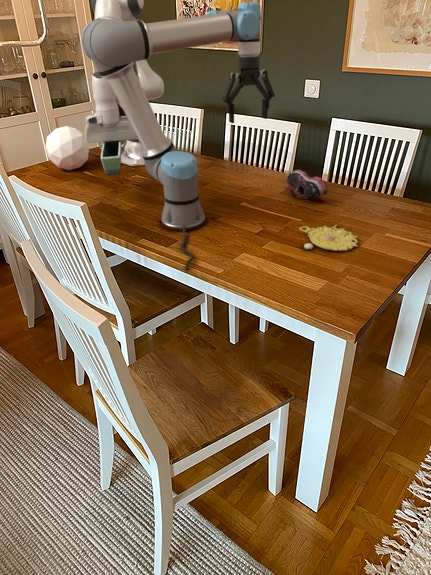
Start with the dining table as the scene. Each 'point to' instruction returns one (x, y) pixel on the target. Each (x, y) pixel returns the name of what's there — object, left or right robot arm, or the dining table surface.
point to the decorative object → (330, 238)
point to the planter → (111, 157)
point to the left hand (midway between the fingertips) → (113, 151)
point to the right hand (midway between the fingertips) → (248, 120)
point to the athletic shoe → (306, 185)
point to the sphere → (67, 148)
